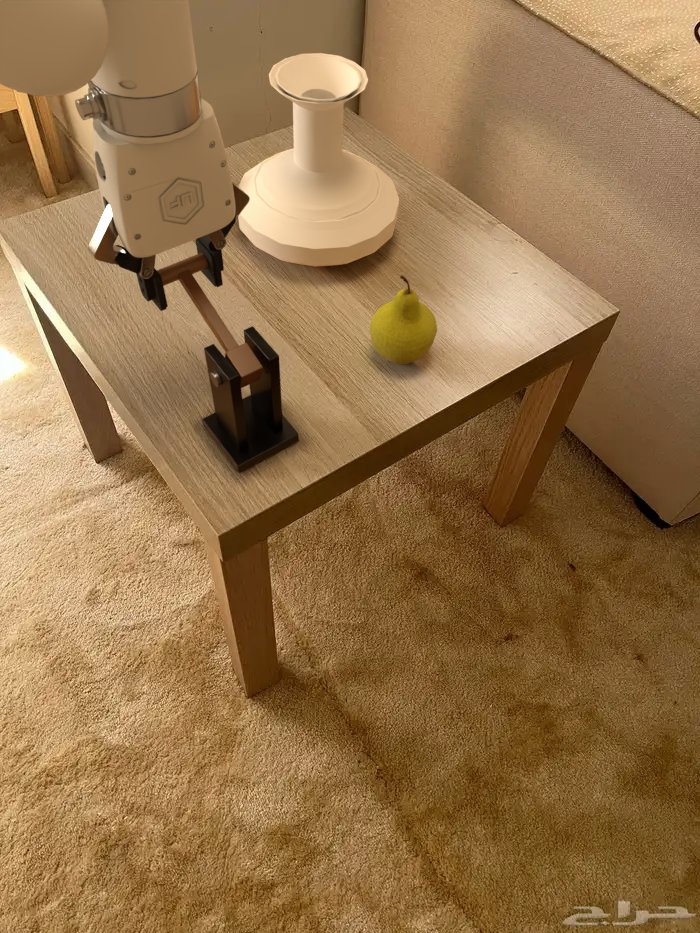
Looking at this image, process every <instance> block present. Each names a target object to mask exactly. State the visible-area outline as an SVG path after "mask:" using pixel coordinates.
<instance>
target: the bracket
mask: <svg viewBox="0 0 700 933" xmlns="http://www.w3.org/2000/svg"><path fill="white" fill-rule="evenodd" d="M243 338H244V343H247V344H248V345H249V347H250V348H251V350H252V351H253V353H254V354H255V356H256V357H257V359H258V360H259V362H260V364H261V365H262V367H263V369H262V373H261V377H260V379H259V380H257V381H255V382H253V383H251V384H249V385H248V386H249V392H250V393H249V394H250V395H248V396H246V397H244V398H243V394H242V393H243V392H242V388H241V384H240V376H239V374H238V373H237V371H236V370H235V369H234V368H233V367H232V365H231V364H230V363H229V362H228V361H227V359H226V358H225V355H224V354H223V353H222V352H221V351H220V350H219V349H218V347H217V346H216V345H215V343H212V344H210V345H207V346H206V347H204V348H203V351H204V357H205V358H204V359H205V362H206V369H207V374H208V380H209V386H210V391H211V396H212V402H213V408H214V412H213V413H211V414H209V415H207V416H205V417H203V418H201V422H202V427H203V428H204V429H205V431H206V432H207V433H208V435H209V436H210V438H212V440H213V441H214V442H215V444H216V445H217V447H218V448H219V449H220V450H221V452H222V453H223V455H224V456H225V457H226V458H227V460H228V461H229V462H230V463H231V465H232V467H233V468H234V469H235V471H236V472H237V473H238V474H241V473H242V472H244V471H246V470H248V469H250V468H251V467H253V466H255V465H257V464H258V463H260V462H262V461H264V460H267V459H269V458H270V457H272V456H274V455H275V454H277V453H279V452H281V451H283V450H285V449H287V448H288V447H290V446H292V445H295V444H296V443H297V442H299V441H300V437H299V436H300V435H299V433H298V432H297V430H296V429H295V428H294V426H293V425H292V424H291V423H290V422H289V421H288V419H287V418H286V417H285V416H284V415H283V404H282V403H283V402H282V387H281V367H280V366H281V364H280V355H279V354H278V352H276V350H275V349H274V348H273V347H272V346H271V345H270V344H269V343H268V341H266V340H265V338H264V337H263V336H262V335H261V334H260V332H258V330H257V329H256V328H255V327H254V326H253V325H252V326H250V327H248V328H245V329H243Z"/></svg>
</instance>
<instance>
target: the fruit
mask: <svg viewBox="0 0 700 933" xmlns="http://www.w3.org/2000/svg"><path fill="white" fill-rule="evenodd" d="M399 278H400V279H401V280H403V282H404V283H405V284H406V285H407V288H405V287H404V288H402V289H400V290H398V291H397V293H396V295H395V296H394V298H393V300H390V301H388V302H387V303H385V304H383V305H381V306H380V307H379V308H378V309H377V310H376V312H375V313H374V315H373V316H372V318H371V321H370V324H369V334H370V340H371V344H372V345H373V347H374V350H375V351H376V352H377V353H378V354H379V355H380V356H381V357H383V358H384V359H385V360H388V361H390V362H392V363H395V364H396V365H397V364H398V365H409V364H411V363H415V362H416V361H418V360H419V359H420V358H422V357H423V356H425V355H426V353H428V351H429V350H430V348H431V347H432V346H433V344H434V341H435V338H436V335H437V333H438V325H437V320H436V317H435V315H434V313H433V311H432V310H431V309H430V308H429V307H428V306H427V305H426V304H425V303H422V302H421V301H420V300H419V299H420V298H419V295H418V294H417V292H416V291H415V290H413V289H412V288H411V287H410V283H409V281H408V279H407V278H406V277H405V276H404V275H400V277H399Z"/></svg>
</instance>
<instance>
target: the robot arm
mask: <svg viewBox="0 0 700 933" xmlns="http://www.w3.org/2000/svg"><path fill="white" fill-rule="evenodd" d="M198 71H199V70H198V64H197V59H196V50H195V42H194V34H193V26H192V18H191V10H190V3H189V0H0V85H2V86H4V87H5V88H8V89H10V90H13V91H16V92H19V93H23V94H26V95H30V96H36V97H49V98H53V97H60V96H65V95H68V94H71V93H75V92H77V91H78V90H80V89H81V88H83V87H85V86H86V85H87V86H88V90H87V91H88V93H87V94H84V95H83V97H80V98H77V99H75V100H74V105H75V108H76V111H77V113H78V115H79V118H81V120H82V121H87V120H91V119H92V144H93V145H92V147H93V157H94V158H93V159H94V165H95V166H94V167H95V173H96V180H97V185H98V192H99V196H100V202H101V205H102V209H103V213H102V215H101V217H100V220H99V222H98V224H97V226H96V228H95V230H94V233H93V235H92V237H91V239H90V242H89V243H88V246H87V250H88V251H89V253H90V254H91V256H93V258H94V259H95V260H96V261H100V262H102V263H106V264H107V263H108V264H110V265H115V266H116V265H117V266H118V267H119V268H122V269H123V270H126V271H129V272H131V273H134V274H136V279H137V283H138V286H139V290H140V292H141V295H142V296H143V298H144V299H145V300H146V301H147V302H150V301H152V302H153V304H154V305H155V306H156V307H157V308H158V310H159V311H160V312H162V311H165V310H167V308H168V301H167V296H166V291H165V286H163V282H162V278H161V275H160V274H159V273H158V272H157V270H158V269H156V268H155V267H156V266H155V265H156V256H157V255H158V254H162V253H164V252H166V251H168V250H169V251H170V250H171V249H172V250H173V249H174V248H177V247H180V246H182V245H184V244H186V243H189V242H193V241H195V246H196V252H197V254H199V253H203V254H204V255H205V257H206V259H207V261H208V268H206V269H204V270H201V271H200V272H201V273H202V274H203V275H204V276H205V278H206V279H207V281H209V283H211V284H212V286H213V287H216V288H219V287H222V286H223V285H224V284H223V283H224V282H223V274H222V272H223V271H224V270H225V267H224V258H223V251H222V250H223V249H224V248H225V247H226V245H227V239H226V238H227V236H228V235H229V233H230V231H231V230H232V228H233V227H234V225H235V224H236V222H237V217H238V216H239V214H240V213H241V212H242V210H243V209H244V208H245V206H246V205H247V204H248V202H249V200H250V198H249V196H248V195H247V194H246V193H245V192H244V191H243V190H242V189H241V188H240V187H238V186H239V185H237V183H235V182H234V181H233V180H232V175H231V174H232V173H231V169H230V164H229V160H228V156H227V151H226V148H225V144H224V139H223V137H222V132H221V130H220V126H219V123H218V119H217V117H216V114H215V111H214V108H213V106H212V105H211V104H210V102H208V101H206V100H205V99H203V98H202V95H201V86H200V78H199V72H198ZM118 237H119V239H120V241H121V244H122V245H120V244H115V243H116V240H117V238H118Z"/></svg>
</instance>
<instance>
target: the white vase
mask: <svg viewBox="0 0 700 933" xmlns="http://www.w3.org/2000/svg"><path fill="white" fill-rule="evenodd" d="M268 79H269V85H270V86H271V87H273V89H275V90H276V91H277V92H278V93H279V94H280V95H282V96H283V97H285V98H286V99H287V100H289V101H291V102H292V126H293V128H292V129H293V130H292V131H293V132H292V133H293V148H290V149H289V148H288V149H286V150H284V151H280V152H277V153H275V154H273V155H272V156H270V157H267V158H266V159H265V158H264V160H262V161H261V162H259V163H258V164H256V165H255V166H253V167H252V168H250V169H249V170H247V171H246V172H245V173H244V174H243V176H242V178H241V180H240V182H239V184H238V185H237V186H238V187H240V188H241V189H242V190H243V191H244V192H245V193H246V194H247V195H248V196H249V198H250V200H249V202H248V204H247V205H246V206H245V208H244V209H243V210H242V212H241V213H240V214H239V216H238V215H237V217H238V218H237V219H238V227H239V230H240V231H241V232H242V234H244V235H245V236H246V238H247V239H248V240H249V242H251V243H252V245H253V246H254V247H256V248H257V249H259V250H260V251H263V252H264V253H267V254H269V255H270V256H272V257H274V258H275V259H278V260H280V261H282V262H287V263H291V264H296V265H303V266H308V267H314V268H317V267H329V266H341V265H347V264H349V263H352V262H354V261H357V260H360V259H361V258H364V257H366V256H369V255H372V254H374V253H376V252H377V251H378V250H379V249H381V247H382V246H383V245H385V244H386V243H387V242H388V241H389V240H390V239H391V238H392V237H394V232H395V228H396V225H397V221H398V215H399V209H400V208H399V206H400V198H399V194H398V191H397V188H396V185H395V181H394V180H392V178H390V177H389V176H388V175H387V174H386V173H385V172H383V171H382V170H381V169H380V168H379V167H378V166H376V165H375V164H374V163H371V162H369V161H368V160H367V159H365V158H363V157H361V156H359V155H357V154H355V153H353V152H351V151H348V150H346V149H343V136H344V135H343V134H344V132H343V131H344V130H343V129H344V110H345V103H346V102H348V101H350V100H351V99H353V98H355V97H356V96H358V95H359V94H360V93H362V92H363V91H364V90H366V87H367V84H368V82H369V78H368V75H367V71H366V69H365V68H363V67H362V66H360V65H359V64H358V63H356V62H355V61H353V60H351V59H348V58H347V57H344V56H342V55H336V54H330V53H323V52H317V53H313V52H311V53H299V54H296V55H292V56H289V57H285V58H284V59H282V60H280V61H279V62H276V63H275V64H273V65H272V67H271V69H270V71H269V73H268Z"/></svg>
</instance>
